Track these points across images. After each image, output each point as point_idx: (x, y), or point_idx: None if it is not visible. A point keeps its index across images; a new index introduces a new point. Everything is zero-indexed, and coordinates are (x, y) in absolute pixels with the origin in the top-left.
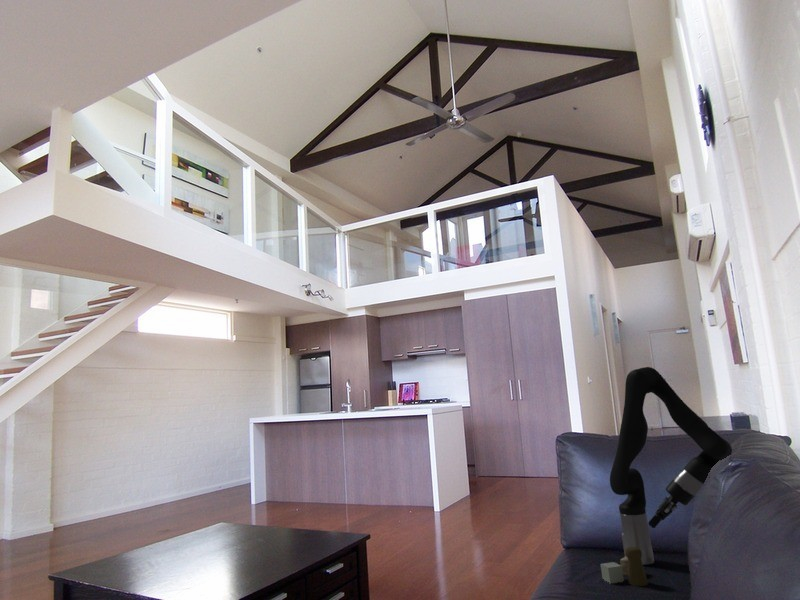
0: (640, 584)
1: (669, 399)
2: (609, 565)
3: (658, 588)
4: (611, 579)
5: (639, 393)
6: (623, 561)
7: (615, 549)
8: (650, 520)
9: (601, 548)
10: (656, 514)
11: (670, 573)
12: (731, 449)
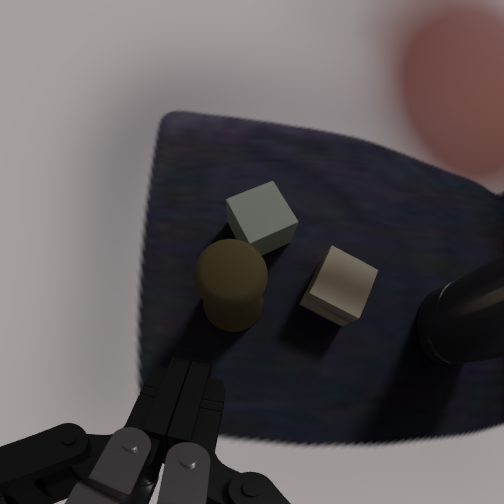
0: (203, 304)
1: None
2: (255, 205)
3: (182, 354)
4: (229, 221)
5: None
6: (325, 257)
7: None
8: (180, 379)
9: None
10: (62, 426)
11: (341, 411)
12: None
